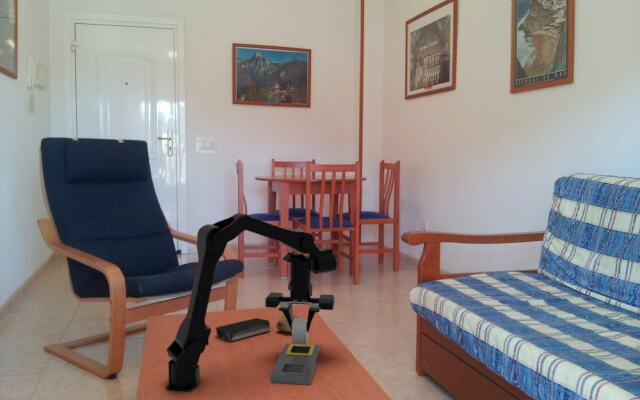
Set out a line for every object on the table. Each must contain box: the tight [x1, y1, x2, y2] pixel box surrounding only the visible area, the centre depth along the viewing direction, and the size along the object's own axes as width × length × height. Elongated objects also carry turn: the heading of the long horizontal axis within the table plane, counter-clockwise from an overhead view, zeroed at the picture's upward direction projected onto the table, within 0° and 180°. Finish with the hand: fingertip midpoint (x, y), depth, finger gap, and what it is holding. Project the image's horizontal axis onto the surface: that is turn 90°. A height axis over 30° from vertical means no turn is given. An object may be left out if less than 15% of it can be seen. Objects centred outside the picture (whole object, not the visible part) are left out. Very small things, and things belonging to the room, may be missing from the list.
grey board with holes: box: [269, 343, 321, 386], centre depth 139 cm, size 10×21×2 cm, turn 173°
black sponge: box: [215, 317, 271, 342], centre depth 163 cm, size 16×8×4 cm, turn 130°
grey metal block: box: [291, 317, 309, 345], centre depth 144 cm, size 4×4×6 cm
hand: (300, 331), depth 144 cm, fingers closed on grey metal block, 4 cm apart
